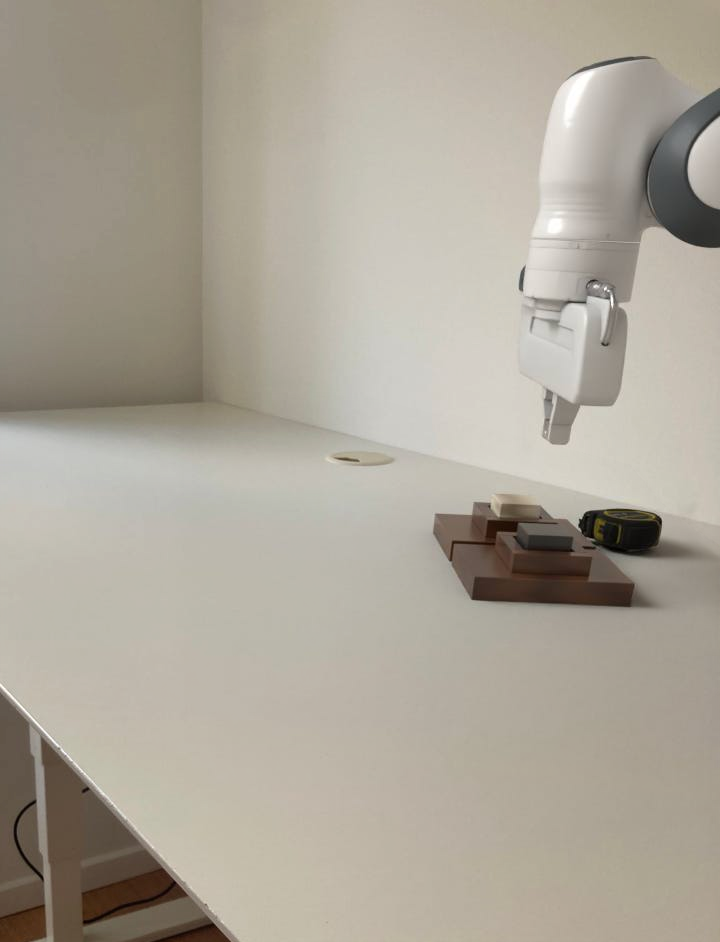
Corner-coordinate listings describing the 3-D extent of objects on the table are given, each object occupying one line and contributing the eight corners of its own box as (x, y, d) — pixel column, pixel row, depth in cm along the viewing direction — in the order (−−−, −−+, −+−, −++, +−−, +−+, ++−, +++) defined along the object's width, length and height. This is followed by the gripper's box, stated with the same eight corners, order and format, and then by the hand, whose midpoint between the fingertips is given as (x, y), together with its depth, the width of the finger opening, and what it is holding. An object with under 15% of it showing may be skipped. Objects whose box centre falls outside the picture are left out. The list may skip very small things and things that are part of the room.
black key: (558, 542, 95) (561, 524, 94) (570, 555, 91) (573, 536, 91) (515, 540, 95) (518, 522, 94) (525, 553, 91) (528, 534, 91)
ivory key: (528, 511, 105) (531, 494, 105) (538, 522, 101) (541, 505, 101) (489, 509, 105) (492, 493, 105) (498, 520, 101) (501, 503, 101)
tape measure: (627, 536, 111) (634, 502, 110) (671, 555, 105) (678, 519, 104) (574, 540, 109) (580, 506, 108) (616, 559, 103) (623, 523, 102)
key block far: (563, 538, 109) (569, 502, 108) (592, 568, 100) (599, 528, 99) (432, 533, 109) (436, 496, 108) (449, 561, 100) (454, 522, 99)
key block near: (595, 571, 99) (602, 531, 98) (630, 607, 90) (639, 563, 88) (451, 565, 99) (456, 525, 98) (471, 600, 90) (477, 556, 88)
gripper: (660, 286, 77) (627, 468, 82) (582, 274, 96) (559, 422, 101) (575, 283, 77) (548, 465, 82) (514, 271, 96) (495, 420, 101)
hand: (554, 441), depth 92 cm, fingers closed
